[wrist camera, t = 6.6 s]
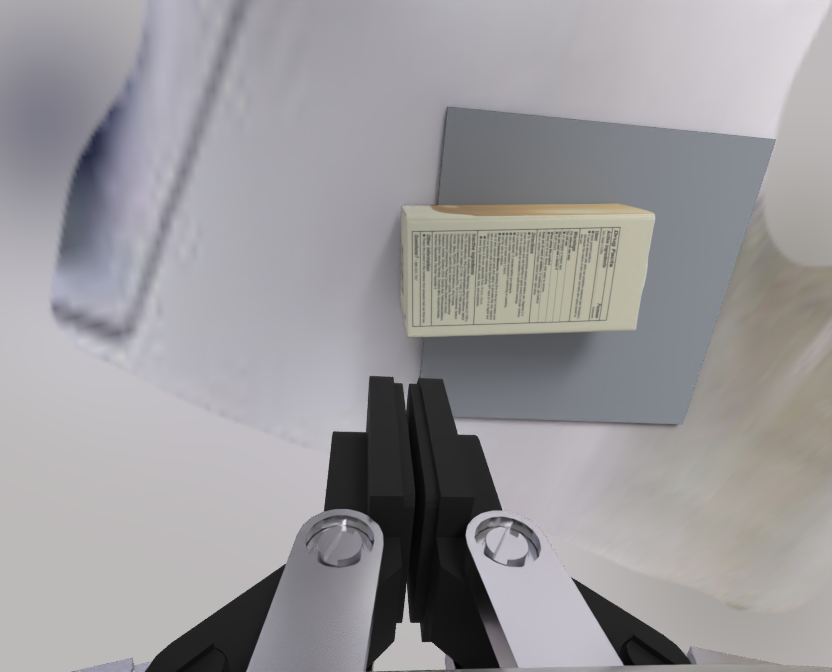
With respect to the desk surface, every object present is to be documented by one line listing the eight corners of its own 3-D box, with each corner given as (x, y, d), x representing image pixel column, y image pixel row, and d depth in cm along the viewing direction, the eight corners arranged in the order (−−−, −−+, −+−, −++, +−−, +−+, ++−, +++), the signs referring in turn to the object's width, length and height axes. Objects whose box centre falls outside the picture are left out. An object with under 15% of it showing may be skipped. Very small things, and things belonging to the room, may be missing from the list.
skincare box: (398, 311, 30) (602, 310, 31) (403, 340, 26) (636, 338, 27) (400, 197, 28) (620, 201, 29) (405, 210, 24) (661, 213, 25)
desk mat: (447, 107, 27) (448, 106, 26) (771, 139, 29) (776, 139, 28) (416, 412, 33) (416, 415, 33) (679, 421, 35) (682, 424, 35)
